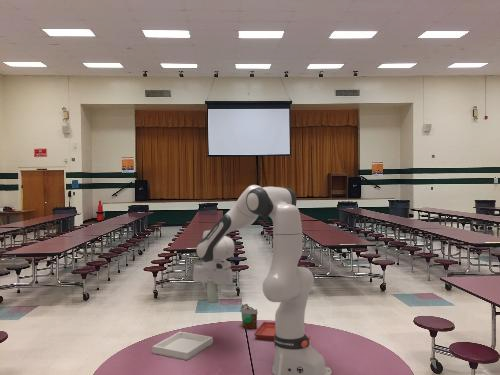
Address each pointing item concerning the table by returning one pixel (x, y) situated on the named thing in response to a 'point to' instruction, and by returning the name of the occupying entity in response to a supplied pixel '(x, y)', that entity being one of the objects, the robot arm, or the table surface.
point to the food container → (249, 317)
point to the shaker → (212, 291)
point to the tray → (182, 345)
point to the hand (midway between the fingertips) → (212, 292)
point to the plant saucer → (266, 331)
